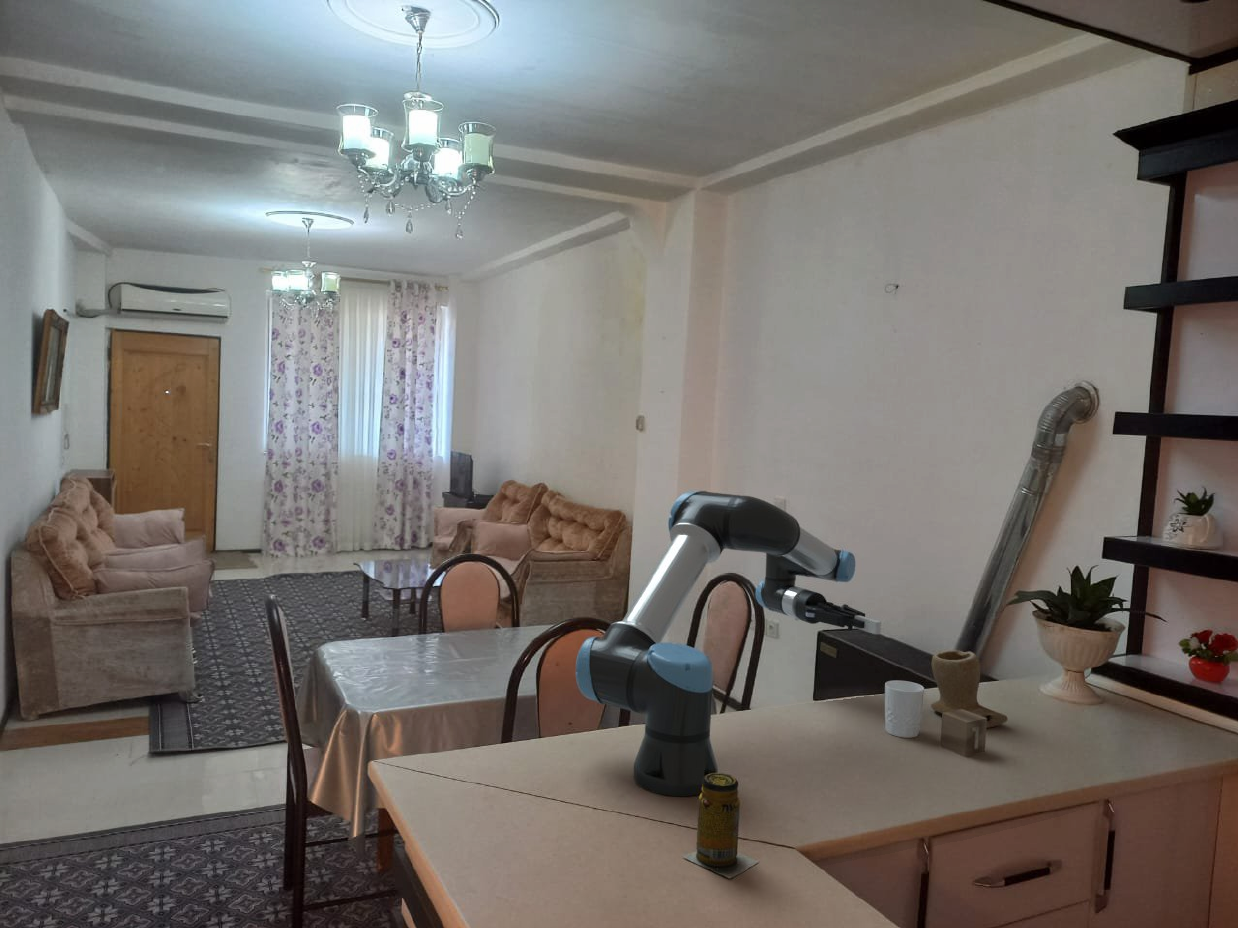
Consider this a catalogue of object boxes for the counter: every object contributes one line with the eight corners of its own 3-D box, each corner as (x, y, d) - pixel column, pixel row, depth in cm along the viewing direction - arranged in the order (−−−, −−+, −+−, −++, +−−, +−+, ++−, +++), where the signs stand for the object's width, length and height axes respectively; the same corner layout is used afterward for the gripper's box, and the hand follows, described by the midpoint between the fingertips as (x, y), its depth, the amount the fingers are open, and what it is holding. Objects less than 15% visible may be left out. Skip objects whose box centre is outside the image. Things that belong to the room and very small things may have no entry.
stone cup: (916, 711, 203) (920, 646, 202) (955, 705, 208) (959, 642, 207) (968, 734, 189) (972, 664, 188) (1008, 727, 194) (1013, 660, 193)
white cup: (882, 735, 186) (885, 688, 185) (882, 723, 193) (885, 678, 193) (922, 741, 183) (924, 693, 183) (920, 728, 191) (923, 682, 190)
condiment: (712, 842, 137) (716, 765, 136) (758, 862, 131) (762, 783, 130) (682, 858, 131) (686, 778, 130) (729, 880, 125) (733, 797, 125)
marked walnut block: (965, 757, 176) (967, 722, 175) (940, 746, 181) (942, 712, 181) (985, 752, 179) (988, 718, 178) (960, 742, 184) (962, 708, 184)
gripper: (824, 618, 219) (898, 641, 198) (783, 622, 212) (855, 648, 192) (826, 588, 218) (900, 608, 198) (785, 591, 212) (857, 613, 191)
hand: (878, 628), depth 195 cm, fingers closed
